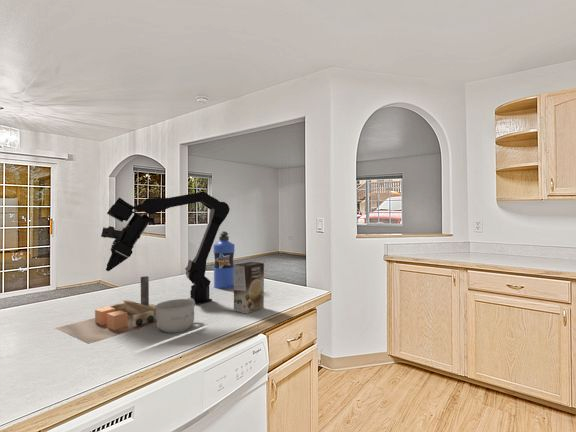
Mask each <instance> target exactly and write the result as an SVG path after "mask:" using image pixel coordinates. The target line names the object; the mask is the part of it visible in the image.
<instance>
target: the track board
mask: <svg viewBox="0 0 576 432" xmlns="http://www.w3.org/2000/svg"><path fill="white" fill-rule="evenodd" d="M156 305H157V304H154V303H149V306H150V307H154V308H155V306H156ZM127 321H128V326H126V327H123V328H119V329H116V330H113V329H110V328H108V327H107V324H104V325H100V324H98V323H95V317H94V318H90V319H87V320H82V321H78V322H73V323H70V324H65V325H61V326H59V327H55V329H56V330H58V331H60V332H62V333H64V334H67V335H69V336H71V337H73V338H75V339H77V340H80V341H82V342H84V343H86V344H88V345H90V344H92V343H95V342H99V341H102V340H105V339H108V338H112V337H115V336H119V335H122V334H125V333H128V332H132V331H135V330H139V329H142V328H145V327H149V326H151V325H154V324H157V320H155V321H152V322H149V323H145V324H142V325H140V326H133V314H130V313H127Z"/></svg>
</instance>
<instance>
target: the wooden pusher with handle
mask: <svg viewBox="0 0 576 432" xmlns="http://www.w3.org/2000/svg"><path fill="white" fill-rule="evenodd" d="M149 278H150V277H149V276H148V275H146V276H144V275H143V276H140V302H136V301H133V300H128V299H126V300H125V299H124V300H123V302H119V303H115V304H112V305H106V306H105V307H112V308H115V311H119V310H121V311H124V312H127V313H130V314H133V326H140V325H142V324H145V323H149V322H152V321H155V320H156V309H155V308H154V307H150V306H149V304H150V299H149V298H150V293H149V291H150V290H149V289H150V286H149V285H150V284H149V283H150V281H149Z"/></svg>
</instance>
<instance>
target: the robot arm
mask: <svg viewBox="0 0 576 432" xmlns="http://www.w3.org/2000/svg"><path fill="white" fill-rule="evenodd" d="M195 203H196V204H197V203H200V204H202V205H203V206H204V207H206V208H207V209H209V210H210V211H209V215H208V216H209V219H208V224H207V227H206V228H205V229H206V230H205V232H204V234H203V237H202V239H201V242H200V245H199V246H198V247H199V248H198V249H197V252H196V255H195V257H194V258H193V259H192V260H191V259H188V260H187V261H188V263H187V266H186V267H185V268H184V270H185V275H186V278H187V279H188V280H189V282H191V284H192V285H191V286H190V291H189V292H190V297H189V298H193V299H194V301H195V304H197V305H201V304H205V303H208V302H212V301H213V299H212V298H210V284H211V282H212V281H211V280H210V279H209V278H208V277H206V276H205V275H206V271H207V270H206V269H207V260H208V258H209V254H210V252H211V249H212V247H213V245H214V241H215V239H216V237H217V233H218V231H219V230H220V226H221V225H222V224H223V222H224V221H225V220H226V218H227V217H228V214H229V213H230V205H229V204H228V202H226V201H220V200H219V199H217V198H215V197H214V196H212V195H210V194H208V193H207V192H205V191H203V190H202V191H198V192H194V193H189V194H187V193H186V194H183V195H177V196H171V197H148V198H145V199H144V200H143V201H142V202H141V203H139V204H134V205H132V204H130V203H128V202H126V200H124V199H123V198H121V197H118V198H117V200H115V203H114V204H112V205H111V207H110V208H109V209H108V211H107V212H106V214H107V215H109V216H110V217H112V218H113V219H115V220H117V221H119V222H121V223H123V222H124V221H125V222H127V221H128V220H129V219H130V220H129V221H128V223H127V224H126V225H125V227H123V228H122V229H121V230H120V229H116V228H115V227H114V226H111V225H109V226H108V227H105V226H104V227H102V231H101V235H100V237H101V238H109V239H113V241H112V242H111V243H112V244H111V246H110V247H111V248H110V252H111V255H110V257H109V259H108V261H107V264H106V268H105V271H106V272H110V271H112V270H113V269H114V268H116V267H118V266H119V265H120V264H121V263H123V262H124V261H126V260H127V259H128V260H129V258H130V257H131V255H132V254H133V249H134V247H135V246H134V245H136V243H137V242H138V240H140V238H141V236H142V234H143V232H144V231H145V230H146V228H147V227H148V226H149V224H151V225H153V226H155V225H156V222H155V217H153V216H152V217H150V216H148V215H154V214H157V213H159V212H163V211H165V210H167V209H169V208H170V209H171V208H174V207H181V206H185V205H189V204H195ZM135 211H136V212H135ZM137 212H143V213H142V214H141V215H140V214H138V213H137ZM131 216H132V217H131Z"/></svg>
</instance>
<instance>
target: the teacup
mask: <svg viewBox="0 0 576 432" xmlns="http://www.w3.org/2000/svg"><path fill="white" fill-rule="evenodd" d="M155 305H156V306H155V309H156V320H157V323H156V325H157V328H158V329H159V330H160V331H162V332H165V333H169V334H170V333H173V334H175V333H181V332H184V331H186V330H188V329H189V328H190V327H191V326H192V325H193V324H194V321H195V306H196V303H195V301H194V299H193V298H190V297H188V298H178V299H177V298H175V299H170V300H165V301H162V302H159V303H157V304H155Z"/></svg>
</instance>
